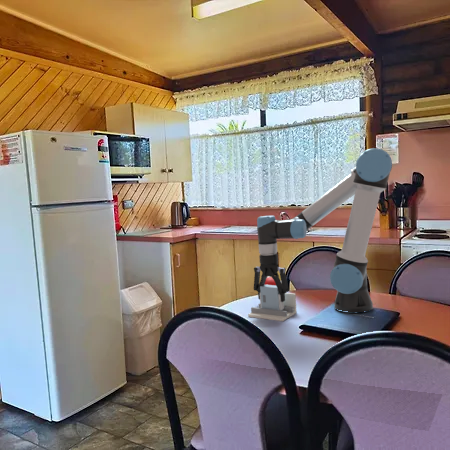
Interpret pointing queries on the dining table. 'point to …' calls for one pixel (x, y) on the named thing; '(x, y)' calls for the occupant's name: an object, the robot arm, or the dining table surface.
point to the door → (269, 297)
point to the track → (276, 314)
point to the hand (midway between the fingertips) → (272, 308)
